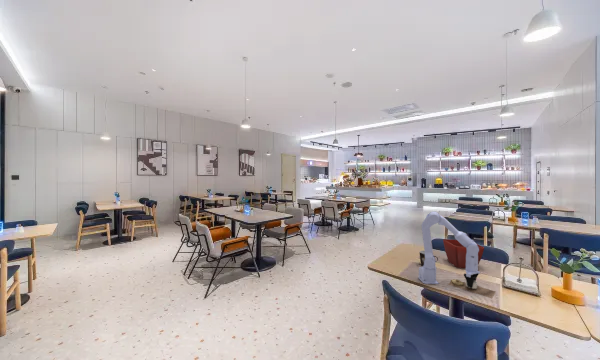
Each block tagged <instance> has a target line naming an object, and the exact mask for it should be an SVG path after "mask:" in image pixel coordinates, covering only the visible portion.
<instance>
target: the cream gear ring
mask: <svg viewBox="0 0 600 360" xmlns="http://www.w3.org/2000/svg"><path fill="white" fill-rule="evenodd" d="M465 283H466V286H467V282H466V281H465ZM477 286H478V281H477V280H476V281H475V280H474V283H473V287H472V288H475V289H476V288H477ZM467 287H468V286H467ZM469 288H471V287H469Z"/></svg>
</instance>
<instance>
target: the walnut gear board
mask: <svg viewBox="0 0 600 360" xmlns="http://www.w3.org/2000/svg"><path fill="white" fill-rule="evenodd" d="M447 285H448V286H451V287H454V288H457V289H461V290H463V291H467V292H470V293H474V294H476V295H480V296H482V297H483V296H484V297H487V298H489V299H493V297H494V296H495V294H496V292H497V291H495V290H492V289H488V288H484V287H482V286H478V285H477V288H476V289H475V288H469V287H467V286H466V281H462V280H460V279H455V278H452V279H450V282H449V283H448V284H447Z"/></svg>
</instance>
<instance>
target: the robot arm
mask: <svg viewBox="0 0 600 360" xmlns="http://www.w3.org/2000/svg"><path fill="white" fill-rule="evenodd" d="M436 224H438V225H441V226H444V227H445V228H446V229H447V230H448V231H449V232H450V233H452V234H453V236H454V240H457V241H458V242H460V243H461V244H462V245H463V246H464V247H466V249H467V253H466V268H464V269H465V273H463V276H464V278H465V283H466V282H467V286H468V287H471V288H472V287H473V283H474V280H475V281H476V282H477V278H478V277H479V274H481V271H478V270H479V264H478V252H479V248H478V246H477V244H478V243H476V242H475V240H474V239H471V238H470V237H469V236H468V234H467V233H466V232H463V231H459V230H458V229H457V228H456V227H455V226H454V225H453V224H452V223H451V222H449V221H448V219H447V218H445V216H443V215H441V214H440V213H439V212H438V211H433V210H432V211H430V212H429V213H427V215H426V216H425V217H424V220H423V221H422V222H421V225H420V226H421V232H422V233H421V234H422V242H423V248H424V249H423V251H425V261H424V265H423V266H419V268H418V277H417V279H418V280H420V282H421V283H423V284H424V285H426V284H429V285H440V283H439V281H437V266H436V263H437V262H436V261H437V258H436V257H434V256H435V255H434V252H433V251H434V250H433V244H432V243H433V242H432V234H431V228H432V226H434V225H436Z"/></svg>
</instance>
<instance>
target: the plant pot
mask: <svg viewBox="0 0 600 360" xmlns="http://www.w3.org/2000/svg"><path fill="white" fill-rule="evenodd" d="M442 241H443V247H444V251H445V255H446V258H447V261H448V263H450V264H451V265H453V266H454V267H456V268H457V269H466V253H467V249H466V247H464V246H463V245H462V244H461V243H460V242H458V241H457V240H456V239H446V238H444V239H442ZM476 244H477V246H478V248H479V252H478V265H480V262H481V260H482V257H483V254H484V250H485V247H484V246H482V245H480V244H478V243H476Z"/></svg>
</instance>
